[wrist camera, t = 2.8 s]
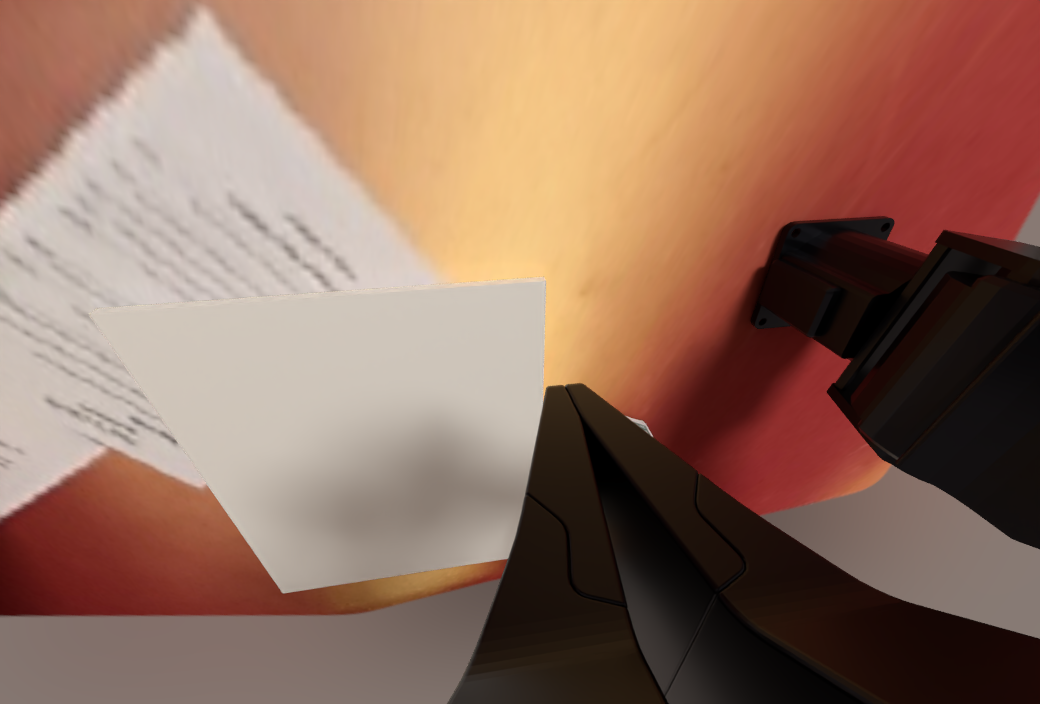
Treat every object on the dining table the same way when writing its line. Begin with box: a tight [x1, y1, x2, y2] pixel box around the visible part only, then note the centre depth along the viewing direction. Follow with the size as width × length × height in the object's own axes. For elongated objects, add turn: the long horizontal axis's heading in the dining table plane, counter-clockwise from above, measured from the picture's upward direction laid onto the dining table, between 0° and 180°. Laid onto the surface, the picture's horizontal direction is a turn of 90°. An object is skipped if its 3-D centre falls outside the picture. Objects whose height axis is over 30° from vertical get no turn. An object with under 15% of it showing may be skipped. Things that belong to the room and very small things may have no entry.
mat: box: [89, 277, 546, 593], centre depth 27 cm, size 22×26×1 cm
